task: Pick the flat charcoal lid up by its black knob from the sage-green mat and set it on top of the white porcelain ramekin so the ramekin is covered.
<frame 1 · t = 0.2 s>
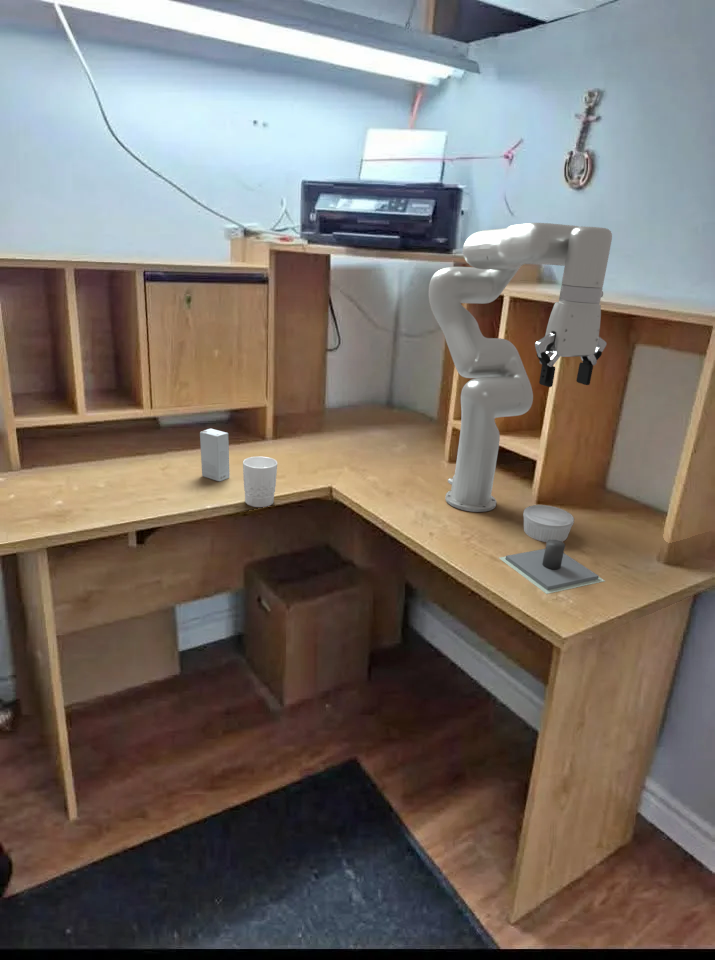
hand: (564, 384, 133), 36 cm above the table, tool pointing down, fingers open, 9 cm apart
lid: (550, 569, 135), resting on mat
ramekin: (544, 536, 152), on the table
mat: (550, 571, 135), on the table
skincare box: (215, 477, 170), on the table
white cup: (259, 502, 158), on the table
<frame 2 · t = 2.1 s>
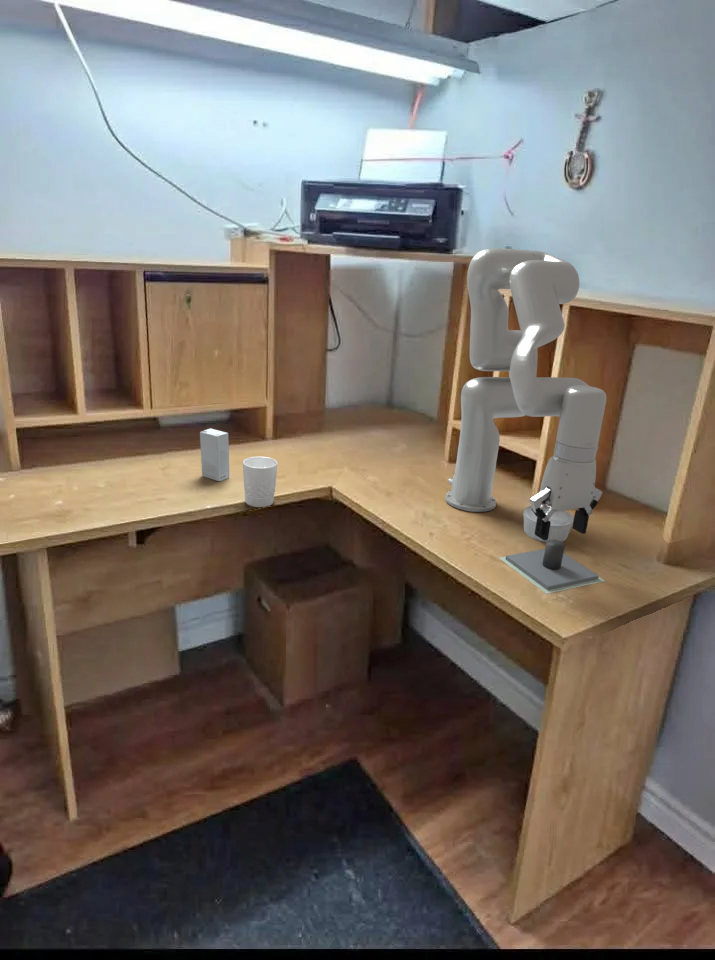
hand: (560, 534, 132), 9 cm above the table, tool pointing down, fingers open, 9 cm apart
nothing on the table moved.
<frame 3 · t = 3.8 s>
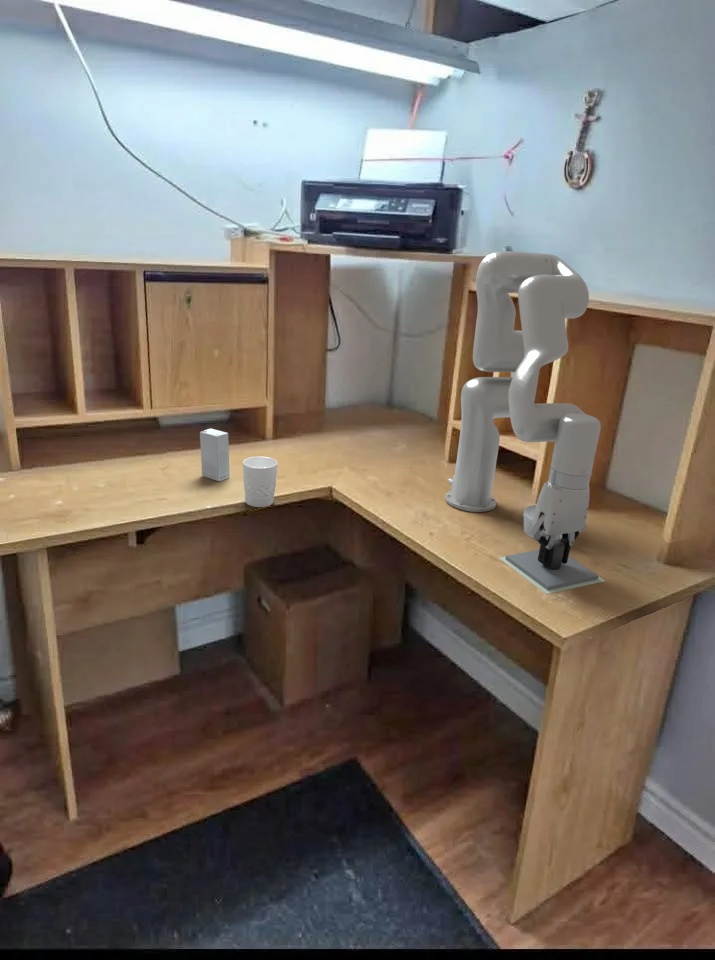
hand: (552, 561, 135), 2 cm above the table, tool pointing down, fingers closed on lid, 3 cm apart
lid: (550, 569, 135), resting on mat, touching gripper
everything else where it was.
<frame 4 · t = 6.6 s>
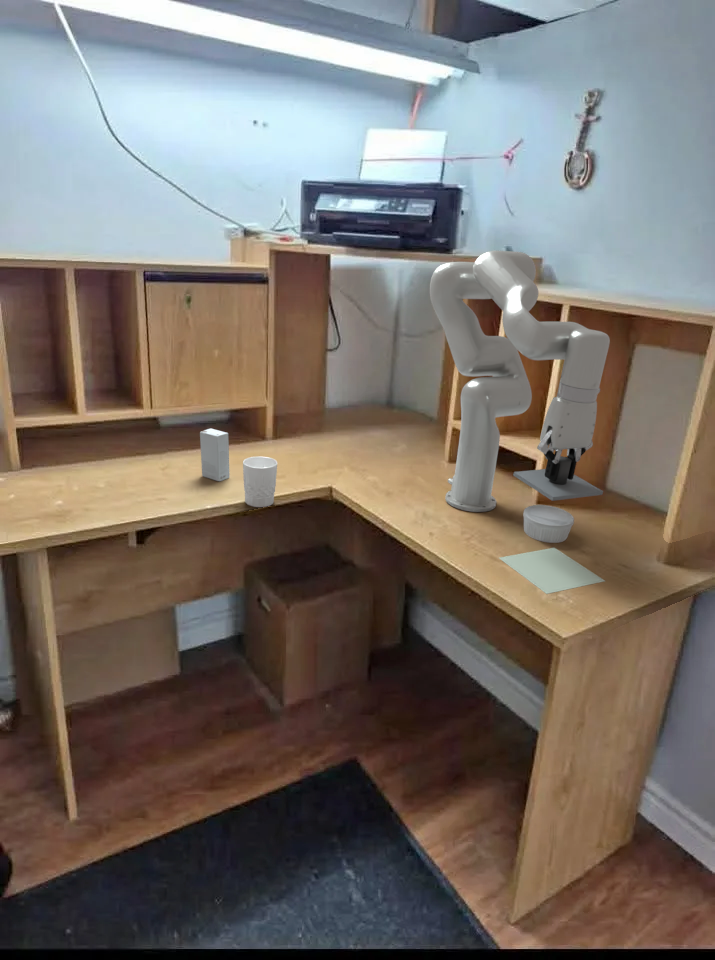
hand: (558, 477, 139), 17 cm above the table, tool pointing down, fingers closed on lid, 3 cm apart
lid: (556, 484, 140), point 15 cm above the table, touching gripper
everything else where it was.
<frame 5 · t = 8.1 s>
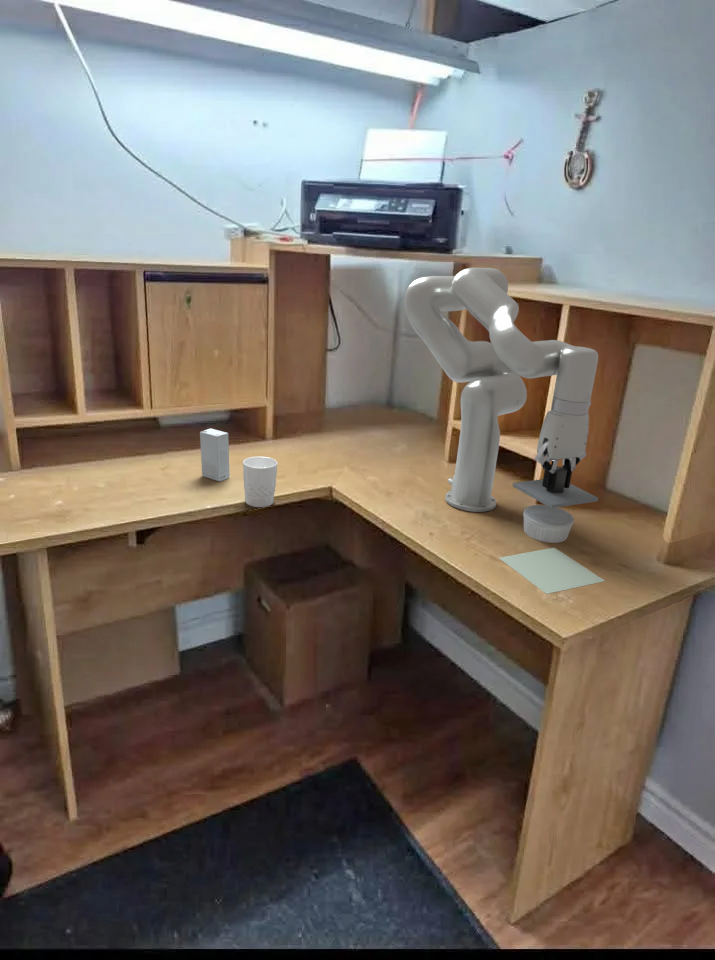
hand: (555, 486, 147), 12 cm above the table, tool pointing down, fingers closed on lid, 3 cm apart
lid: (554, 493, 147), point 10 cm above the table, touching gripper
everything else where it was.
when the fingers open (9 cm above the table, at t = 9.4 s): lid drops 2 cm, resting on ramekin.
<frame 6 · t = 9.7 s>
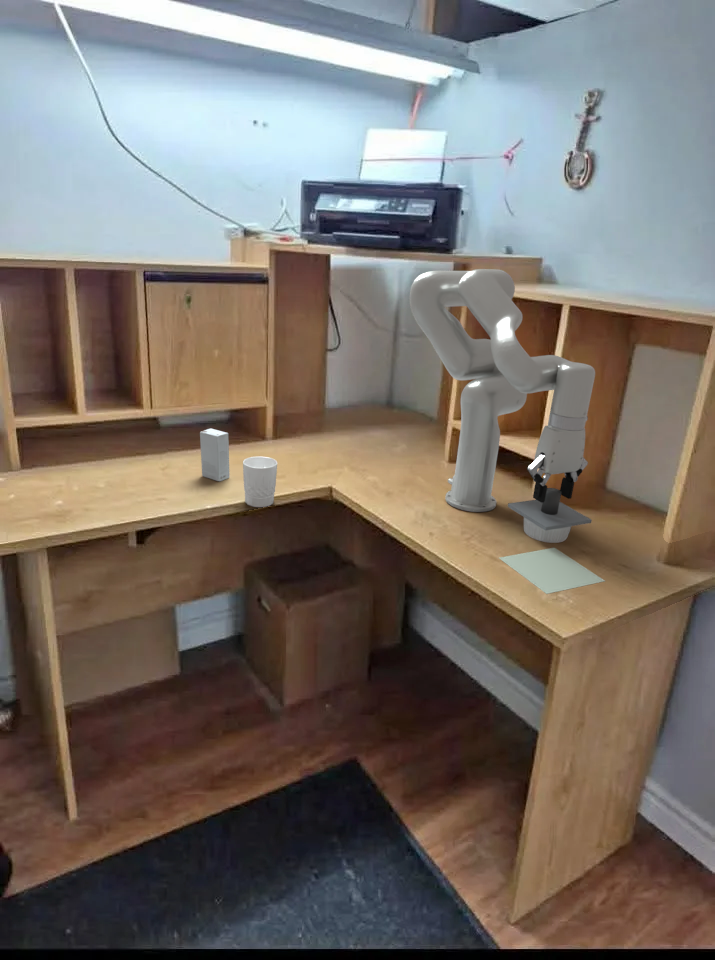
hand: (552, 497, 148), 9 cm above the table, tool pointing down, fingers open, 7 cm apart
lid: (548, 514, 150), point 5 cm above the table, touching ramekin
ramekin: (544, 536, 152), on the table, touching lid
everything else where it was.
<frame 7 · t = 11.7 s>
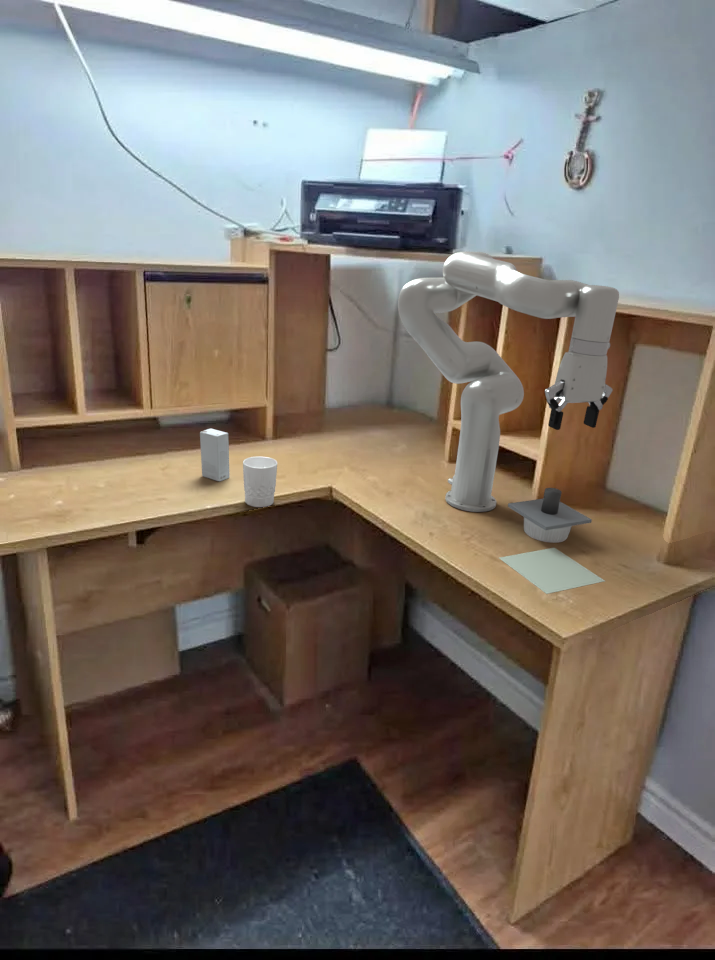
hand: (571, 426, 144), 25 cm above the table, tool pointing down, fingers open, 9 cm apart
nothing on the table moved.
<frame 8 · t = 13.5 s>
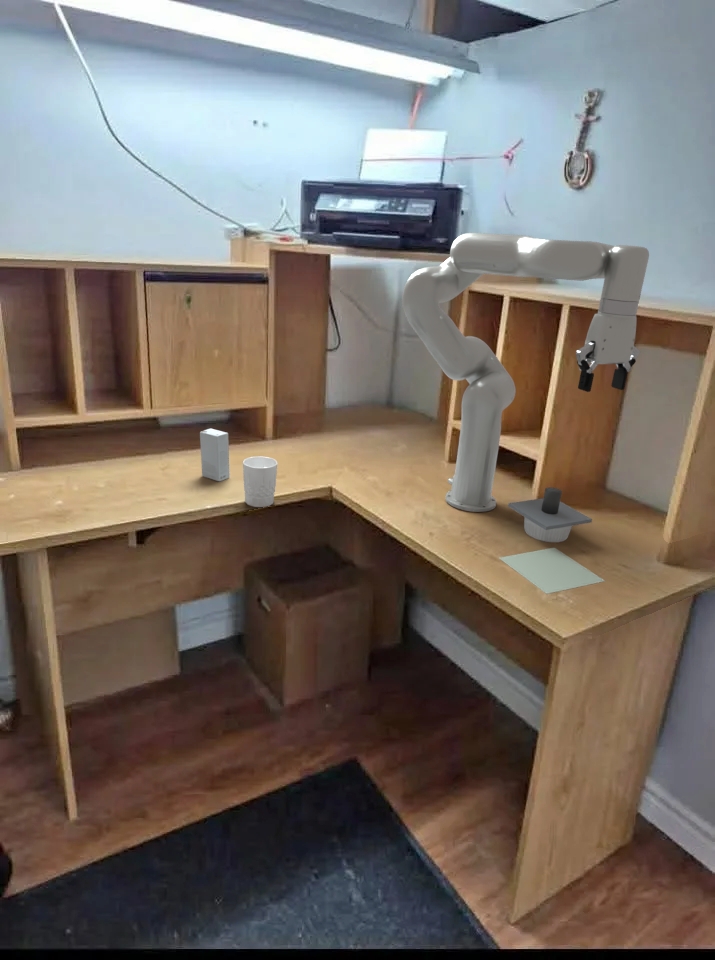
hand: (600, 389, 144), 33 cm above the table, tool pointing down, fingers open, 9 cm apart
nothing on the table moved.
at the end: lid 0.1 cm from the ramekin (horizontally); lid point 5.1 cm above the table; lid tilted 0° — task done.
